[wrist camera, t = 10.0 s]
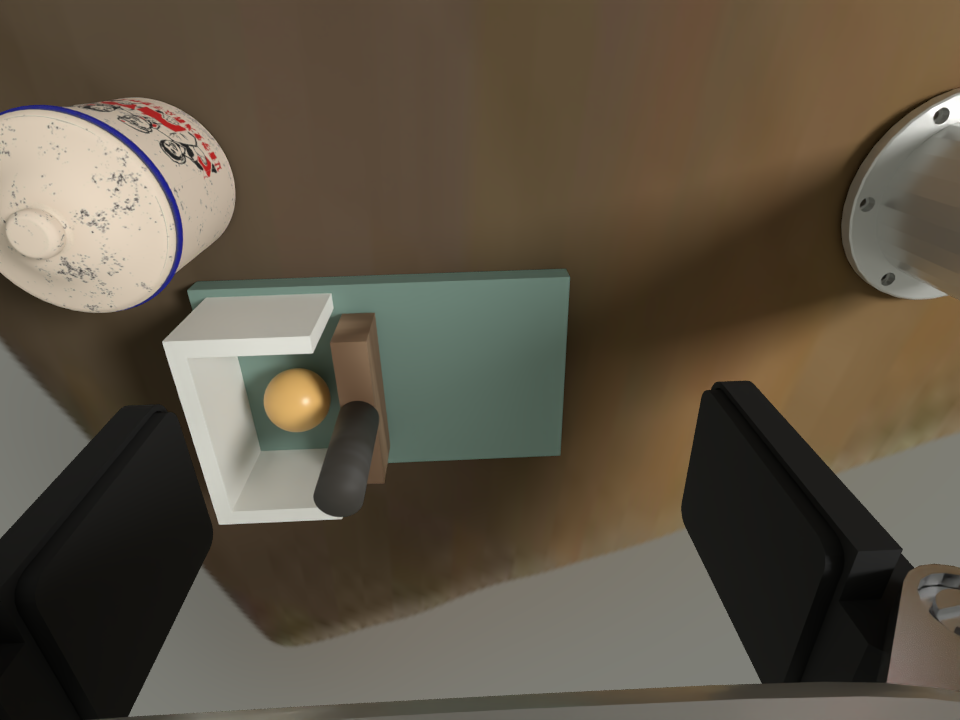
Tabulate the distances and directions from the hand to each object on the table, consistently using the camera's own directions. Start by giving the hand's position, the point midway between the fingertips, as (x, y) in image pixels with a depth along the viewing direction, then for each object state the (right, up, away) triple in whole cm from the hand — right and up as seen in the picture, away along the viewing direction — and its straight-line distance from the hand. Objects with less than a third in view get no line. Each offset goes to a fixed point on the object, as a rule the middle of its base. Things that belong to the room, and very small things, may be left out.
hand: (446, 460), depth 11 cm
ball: (-11, -1, +26) cm, 28 cm away
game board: (-5, +1, +29) cm, 29 cm away
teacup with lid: (-19, +13, +22) cm, 32 cm away
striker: (-7, 0, +28) cm, 28 cm away
